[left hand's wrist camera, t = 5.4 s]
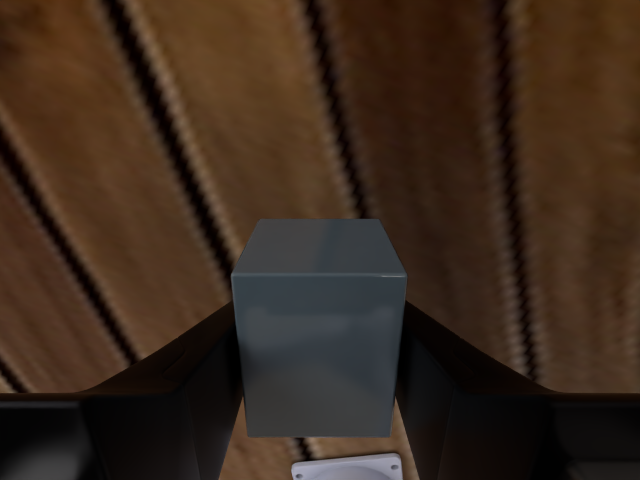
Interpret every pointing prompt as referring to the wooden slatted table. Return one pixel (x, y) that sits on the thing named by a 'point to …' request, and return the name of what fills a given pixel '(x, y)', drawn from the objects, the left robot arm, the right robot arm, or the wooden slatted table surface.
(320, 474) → the right robot arm
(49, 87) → the wooden slatted table surface
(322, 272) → the brick
